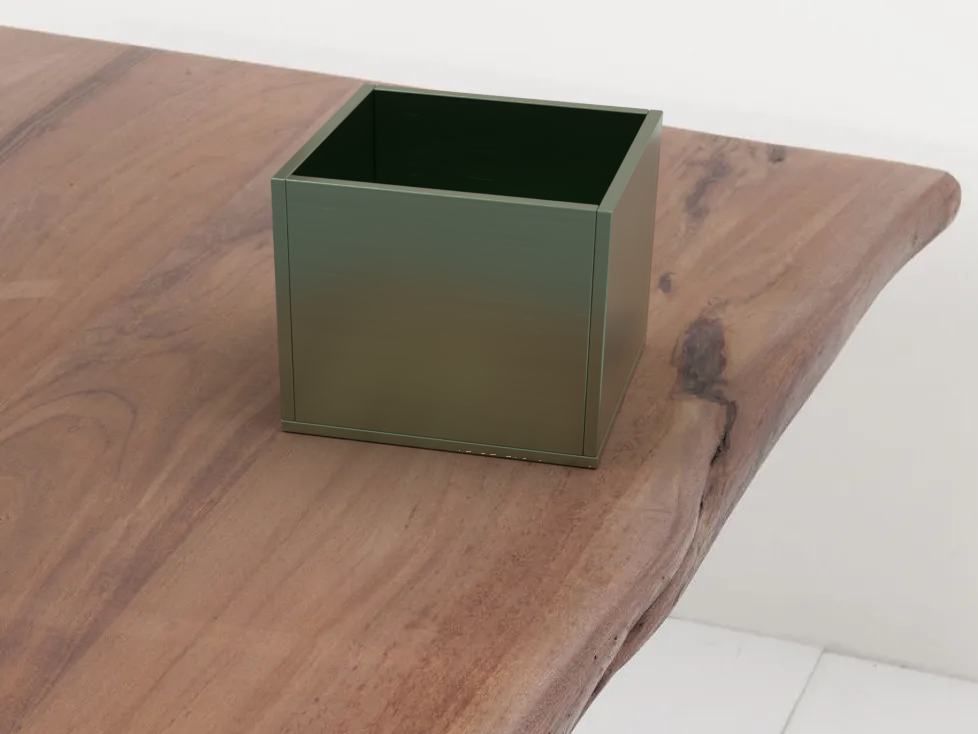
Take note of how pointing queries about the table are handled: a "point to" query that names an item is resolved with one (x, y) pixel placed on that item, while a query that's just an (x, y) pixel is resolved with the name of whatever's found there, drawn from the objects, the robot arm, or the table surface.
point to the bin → (465, 271)
